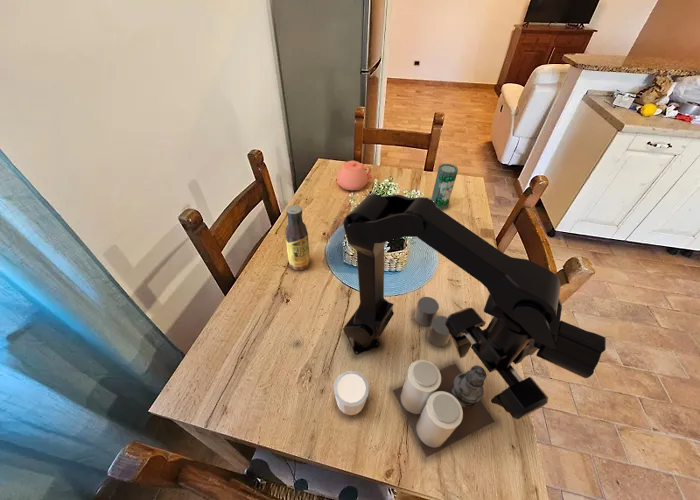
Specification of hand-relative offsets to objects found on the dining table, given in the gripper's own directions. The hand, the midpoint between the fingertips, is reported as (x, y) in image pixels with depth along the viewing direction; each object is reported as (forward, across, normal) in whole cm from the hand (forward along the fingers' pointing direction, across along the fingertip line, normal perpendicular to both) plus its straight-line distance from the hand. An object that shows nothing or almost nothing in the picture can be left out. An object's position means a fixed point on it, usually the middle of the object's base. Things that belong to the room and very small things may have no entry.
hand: (477, 377), depth 59 cm
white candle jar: (+9, +8, +23) cm, 26 cm away
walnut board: (+9, 0, +6) cm, 11 cm away
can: (+9, +60, -34) cm, 70 cm away
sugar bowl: (+9, +84, -10) cm, 85 cm away
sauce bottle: (+9, +50, +22) cm, 55 cm away
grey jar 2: (+9, +14, -2) cm, 17 cm away
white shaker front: (+9, -3, +10) cm, 14 cm away
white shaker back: (+8, +3, +10) cm, 14 cm away
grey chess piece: (+9, 0, 0) cm, 9 cm away
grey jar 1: (+9, +20, -2) cm, 22 cm away
